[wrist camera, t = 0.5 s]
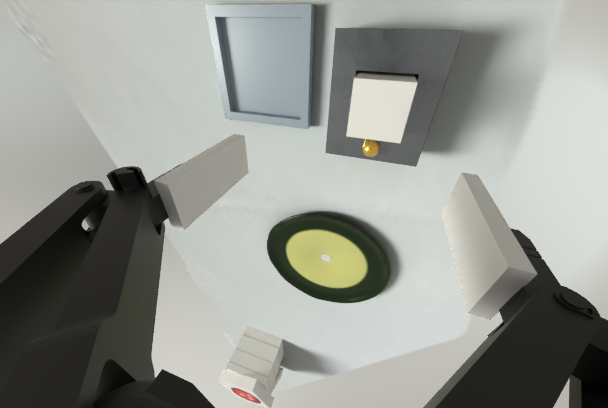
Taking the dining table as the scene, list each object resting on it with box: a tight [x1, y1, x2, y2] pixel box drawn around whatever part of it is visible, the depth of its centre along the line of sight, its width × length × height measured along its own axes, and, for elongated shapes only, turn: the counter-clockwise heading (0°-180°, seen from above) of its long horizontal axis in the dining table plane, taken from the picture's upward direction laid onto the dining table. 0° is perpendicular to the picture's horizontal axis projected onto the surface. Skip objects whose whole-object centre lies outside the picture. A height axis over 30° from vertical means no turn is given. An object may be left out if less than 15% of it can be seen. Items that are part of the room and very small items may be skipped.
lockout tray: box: [205, 4, 315, 129], centre depth 33 cm, size 14×14×2 cm
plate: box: [267, 214, 390, 303], centre depth 52 cm, size 28×28×2 cm
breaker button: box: [346, 71, 418, 143], centre depth 26 cm, size 6×6×6 cm
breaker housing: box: [326, 28, 463, 166], centre depth 28 cm, size 14×12×7 cm
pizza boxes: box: [218, 326, 284, 408], centre depth 89 cm, size 19×30×18 cm, turn 178°
